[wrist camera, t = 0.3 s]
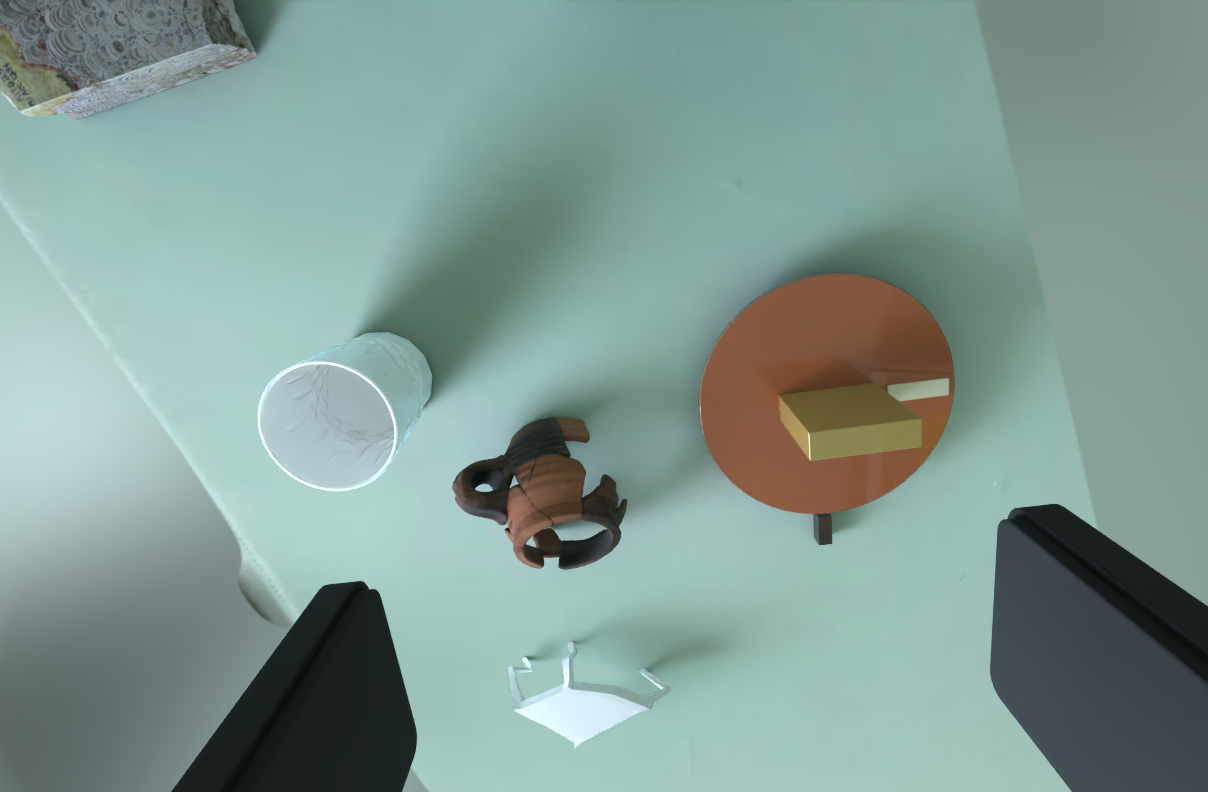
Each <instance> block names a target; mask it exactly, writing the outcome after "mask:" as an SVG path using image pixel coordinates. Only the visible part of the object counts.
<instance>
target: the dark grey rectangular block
mask: <svg viewBox="0 0 1208 792" xmlns="http://www.w3.org/2000/svg"><path fill="white" fill-rule="evenodd" d="M813 517H814V537H815V539H816V541H817V542H818V544H819V545H826V544H832V522H831V515H830V513H822V514H813Z"/></svg>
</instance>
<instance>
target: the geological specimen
mask: <svg viewBox="0 0 1208 792" xmlns="http://www.w3.org/2000/svg"><path fill="white" fill-rule="evenodd" d="M256 56H257V53H256V50H255V48H254V46H253V45H252V43H251V41H250V39H249V38H248V36H247V35H246V33H245V30H244V27H243V24H242V22H241V20H240V18H239V16H238V14H237V13H236V11H235V6H234V2H233V0H0V91H1V92H2V93H3V94H4V96H6V97H7V98H8V100H9V102H10V103H11V104H12V105H13V106H14V107H15V108H17V109H18V110H19V111H20V112H21V113H22V114H25V115H27V116H42V115H56V114H57V113H70V118H71V119H74V120H79V119H82V118H85V117H88V116H91V115H93V114H96V113H99V112H102V111H105V110H108V109H111V108H114V107H116V106H119V105H122V104H125V103H129V102H132V101H135V100H138V99H141V98H144V97H147V96H150V95H153V94H156V93H158V92H161V91H164V90H167V89H170V88H173V87H176V86H178V85H181V84H184V83H187V82H190V81H192V80H195V79H198V78H201V77H204V76H207V75H210V74H213V73H216V72H219V71H222V70H225V69H228V68H230V67H233V66H235V65H238V64H241V63H243V62H246V61H248V60H251V59H253V58H255V57H256Z"/></svg>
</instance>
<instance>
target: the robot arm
mask: <svg viewBox="0 0 1208 792" xmlns="http://www.w3.org/2000/svg"><path fill="white" fill-rule="evenodd" d="M990 674H991V679H992V683H993V686H994V688H995V690H996V693H997V694H998V696H999V698H1000V699H1001V700H1002V702H1003V703H1004V704H1005V706H1006V707H1007V708H1008V709H1009V711H1010V712H1011V713H1012V715H1013V716H1014V717H1015V719H1016V720H1017V721H1018V722H1019V724H1020V725H1021V726H1022V728H1023V729H1024V730H1025V731H1026V733H1027V734H1028V735H1029V737H1030V738H1031V739H1032V741H1033V742H1034V743H1035V744H1036V746H1037V747H1038V748H1039V750H1040V751H1041V752H1042V753H1043V755H1044V756H1045V757H1046V759H1047V760H1048V761H1049V762H1050V764H1051V765H1052V766H1053V768H1054V769H1055V770H1056V772H1057V773H1058V774H1059V775H1060V777H1061V778H1062V779H1063V781H1064V782H1065V783H1066V784H1067V786H1068V787H1069V788H1070V790H1071V791H1072V792H1208V606H1206V605H1205V604H1203V603H1202V602H1201V601H1199V600H1198V599H1196V598H1195V597H1193V596H1192V595H1190V594H1189V593H1188V592H1186V591H1185V590H1183V589H1182V588H1180V587H1179V586H1178V585H1176V584H1175V583H1173V582H1172V581H1170V580H1169V579H1167V578H1166V577H1164V576H1163V575H1162V574H1160V573H1159V572H1157V571H1155V570H1154V569H1153V568H1151V567H1150V566H1149V565H1147V564H1145V563H1144V562H1143V561H1141V560H1140V559H1138V558H1137V557H1136V556H1134V555H1133V554H1131V553H1130V552H1128V551H1127V550H1125V549H1124V548H1122V547H1121V546H1120V545H1118V544H1117V543H1115V542H1114V541H1112V540H1111V539H1109V538H1108V537H1107V536H1105V535H1104V534H1102V533H1101V532H1099V531H1098V530H1096V529H1095V528H1094V527H1092V526H1091V525H1089V524H1088V523H1086V522H1085V521H1083V520H1082V519H1080V518H1079V517H1078V516H1076V515H1075V514H1073V513H1072V512H1070V511H1069V510H1067V509H1066V508H1065V507H1063V506H1061V505H1058V504H1049V505H1040V506H1031V507H1022V508H1015V509H1013V510H1012V511H1011V512H1010V514H1009V516H1008V519H1004V520H1002V521H1001V522H1000V523H999V525H998V532H997V550H996V569H995V588H994V606H993V625H992V644H991V663H990ZM416 745H417V732H416V726H415V722H414V719H413V715H412V711H411V707H410V704H409V700H408V696H407V693H406V689H405V685H404V681H403V678H402V674H401V670H400V667H399V663H398V659H397V655H396V652H395V648H394V644H393V641H392V637H391V633H390V629H389V626H388V622H387V618H386V614H385V611H384V607H383V603H382V600H381V597H380V594H379V592H378V591H377V590H375V589H370V590H369V588H368V586H367V585H366V584H365V583H364V582H362V581H356V582H347V583H338V584H329V585H324V586H323V587H322V588H321V589H320V590H319V591H318V592H317V594H316V595H315V596H314V598H313V599H312V600H311V602H310V603H309V605H308V606H307V607H306V609H305V610H304V611H303V613H302V614H301V616H300V617H299V618H298V620H297V621H296V622H295V624H294V625H293V626H292V628H291V629H290V631H289V632H288V633H287V635H286V636H285V638H284V639H283V640H282V641H281V643H280V644H279V646H278V647H277V648H276V650H275V651H274V652H273V654H272V655H271V656H270V658H269V659H268V661H267V662H266V663H265V665H264V666H263V667H262V669H261V670H260V671H259V673H258V674H257V676H256V677H255V678H254V680H253V681H252V682H251V684H250V685H249V686H248V688H247V689H246V691H245V692H244V693H243V695H242V696H241V697H240V699H239V700H238V702H237V703H236V704H235V706H234V707H233V708H232V710H231V711H230V713H229V714H228V715H227V717H226V718H225V719H224V721H223V722H222V723H221V725H220V726H219V727H218V729H217V730H216V732H215V733H214V734H213V736H212V737H211V738H210V740H209V741H208V743H207V744H206V745H205V747H204V748H203V749H202V751H201V752H200V753H199V755H198V756H197V757H196V759H195V760H194V762H193V763H192V764H191V766H190V767H189V768H188V770H187V771H186V772H185V774H184V775H183V777H182V778H181V779H180V781H179V782H178V784H177V785H176V786H175V788H174V789H173V790H172V792H402V790H403V787H404V784H405V781H406V779H407V776H408V773H409V770H410V767H411V764H412V761H413V758H414V755H415V751H416Z"/></svg>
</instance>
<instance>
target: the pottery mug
mask: <svg viewBox="0 0 1208 792" xmlns="http://www.w3.org/2000/svg"><path fill="white" fill-rule="evenodd" d="M589 439H590V435H589V432H588V431H587V429H586V426H585V423H584V422H583V421H582V420H580V419H576V418H569V417H557V418H554V417H552V418H547V419H540V420H538V421H535V422H533V423H530V424H528V425H526V426H524V427H523V428H521V429H520V430H519V431H518V432H517V433H516V434H515V435H514V436H513V437H512V439H511V442H510V445H509V447H508V449H507V452H506V453H505V455H500V456H499V457H497V458H494V459H488V460H482V461H478V462H475V463H473V464H471V465H469V466H468V467H466V468H465V469H463V470H462V471H461V472H460V473H459V474H458V475H457V477H456V479H455V481H454V482H453V485H452V489H453V491H454V492H455V494H456V496H455V500H456V502H457V504H458V505H459V506H460V507H461V509H463V510H464V511H465V512H467V513H468V514H471V515H474V516H478V517H483V518H488V519H492V520H494V521H496V522H497V523H498V524H499V525H505V524H506V523H508V528H506V529H505V533H506V535H507V536H508V538H509V539H510V540H511V541H512V543H513V545H514V546H513V547H514V548H513V550H514V553H515V555H516V557H517V558H518V560H520V561H521V562H522V563H524V564H526V565H528V566H531V567H533V568H542V567H543V566H544V558H543V557H545V558H553V557H559V565H558V567H559V568H560V569H564V570H567V569H573V568H578V567H581V566H585V565H588V564H590V563H593V562H595V561H597V560H599V559H601V558H602V557H603V556H605V555H607V554H608V553H610V552H611V551H612V550H613V549H614V548H615V547H616V546H617V545H618V543H619V540H620V538H621V531H620V529H619V525H620V524H621V522H622V519H623V517H624V514H625V511H626V506H627V499H623V500H622V502H621V504H620V506H619V507H618V495H617V493H616V483H615V481H614V480H613V479H612V478H611V477H610V476H608V475H606V474H604V475H603V476H602V478H601V481H600V485H599V486H597V487H596V489H595V490H594V491H592V492H591V493H590V494H588V495H586V496H585V497H583V498H582V494H583V486H584V480H585V475H586V471H585V469H584V467H583V465H582V464H581V463H580V462H579V461H578V460H575V459H572V458H570V453H569V450H568V448H567V446H566V443H565V441H579V442H584V443H587V442H588V441H589ZM514 475H515V477H516V479H517V482H518V483H519V484H518V485H515V486H513V487H511V488H510V485H511V482H512V479H513V476H514ZM480 484H489V485H490V486H491V487H492V489H493V491H490V492H479V491H477V490H475V488H476V487H477V486H479V485H480ZM617 507H618V508H617ZM579 520H583V521H589V522H595V523H598V524H600V525H602V526H604V527H606V528H607V530H603V531H601V532H599V533H598V534H596V535H594V536H592V537H590V538H588V539H585V540H576V541H572V540H571V541H561V540H560V539H559V537H558V535H557V534H556V533H555V531H554V530H553V529H551V528H547V527H549V526H552V525H553V524H559V523H563V522H569V521H579ZM544 528H547V529H544ZM532 536H533V540H534V541H535V543H536V547H532V546H529V545H526V542H527V541H528V540H529V539H530V538H531V537H532Z"/></svg>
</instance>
